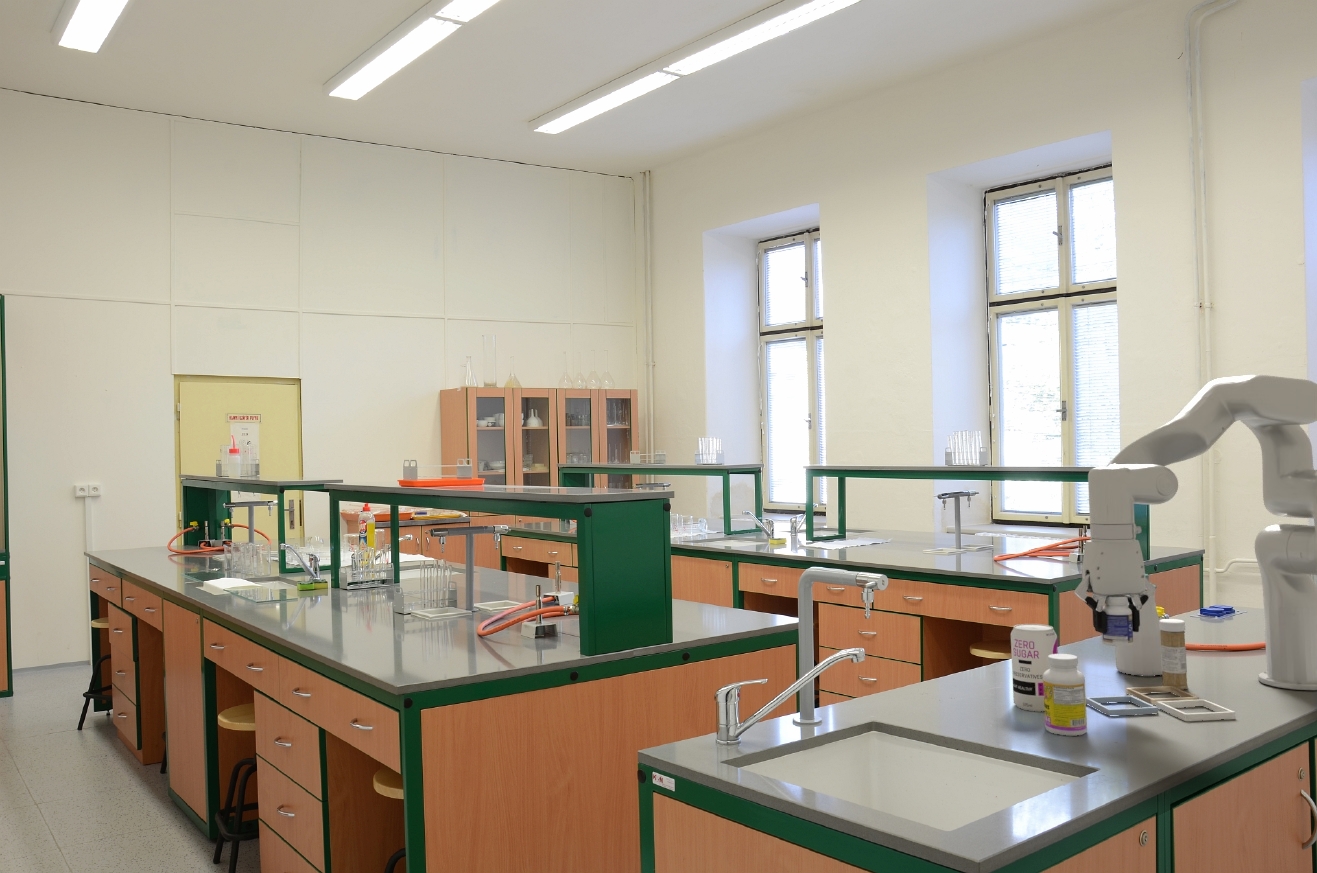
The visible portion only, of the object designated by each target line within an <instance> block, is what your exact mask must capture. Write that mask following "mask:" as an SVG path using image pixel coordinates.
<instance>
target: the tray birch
mask: <svg viewBox="0 0 1317 873" xmlns="http://www.w3.org/2000/svg"><path fill="white" fill-rule="evenodd" d="M1125 689H1126V691H1125V692H1126V694H1127V693H1128V694H1130V695H1133V696H1134V697H1137V698H1139V699H1141V700H1143V701H1145V702H1147V703H1149V704H1152V705H1155V704H1156V702H1157V701H1179V700H1200V697H1199V696H1197V695H1194V694H1192V693H1189V692H1187V691H1185V690H1180V689H1177V688H1175V687H1172V686H1163V685H1161V686H1143V687H1126V688H1125ZM1151 692H1171V693H1170V694H1172V693H1174V694H1176V695H1175V696H1177V695H1179V696H1181V697H1179V696H1178V697H1167V698H1166V697H1163V698H1161V697H1160V698H1158V697H1157V698H1152V697H1150V696H1148V695H1147V694H1141V693H1151ZM1174 694H1173V695H1174ZM1156 705H1157V704H1156Z"/></svg>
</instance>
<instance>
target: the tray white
mask: <svg viewBox="0 0 1317 873" xmlns="http://www.w3.org/2000/svg"><path fill="white" fill-rule="evenodd" d="M1156 704H1157V706H1156V707H1158V708H1160V709H1162V710H1164V711H1166V712H1167V713H1166V712H1165V713H1166V714H1169V713H1170V714H1169V715H1171V716H1173V717H1176V718H1177V717H1178V718H1177V719H1180V720H1182V721H1184V722H1197V721H1198V722H1200V721H1202V720H1203V721H1218V720H1219V721H1220V720H1221V719H1224V720H1236V711H1234V710H1231V709H1229V708H1227V707H1223V706H1222V705H1219V704H1217V703H1214V702H1212V701H1209V700H1206V699H1200V698H1199V700H1179V701H1157V702H1156ZM1195 706H1204V707H1203V708H1205V707H1206V709H1208V708H1209V709H1208V710H1210V711H1212V710H1213V711H1212V712H1193V713H1186V712H1184V711H1182V710H1179V709H1180V708H1181V709H1182V708H1184V707H1186V708H1196V707H1195ZM1160 709H1159V710H1160ZM1162 710H1161V711H1162ZM1164 711H1163V712H1164ZM1221 721H1222V720H1221Z"/></svg>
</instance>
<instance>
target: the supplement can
mask: <svg viewBox="0 0 1317 873" xmlns="http://www.w3.org/2000/svg"><path fill="white" fill-rule="evenodd" d="M1058 644H1059V643H1058V635H1057V633H1056V631H1055V630H1054V627H1053V626H1052V625H1047V624H1043V623H1042V624H1041V623H1023V624H1022V623H1020V624H1019V623H1018V624H1016V625H1013V628H1012V630H1011V632H1010V646H1011V649H1010V650H1011V669H1012V672H1011V674H1012V692H1013V693H1012V694H1013V695H1012V696H1013V704H1014V705H1016V707H1017V708H1018V707H1019V708H1018V709H1020V708H1021V710H1024V711H1027V710H1029V711H1028V712H1034V711H1035V712H1037V713H1044V712H1043V711H1045V710H1044V687H1043V674H1044V673H1045V671H1047V670H1048V669H1050V665H1049V663H1048V656H1049V655H1051V654H1059V652H1058V651H1059V648H1058V647H1059V645H1058ZM1041 711H1042V712H1041ZM1035 712H1034V713H1035Z"/></svg>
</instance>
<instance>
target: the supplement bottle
mask: <svg viewBox="0 0 1317 873" xmlns="http://www.w3.org/2000/svg"><path fill="white" fill-rule="evenodd" d="M1048 663H1049V665H1050V669H1048V670H1047V671H1045V673H1044V674H1043V687H1044V710H1045V712H1044V724H1045V725H1044V726H1045V729H1046V730H1047V732H1049V733H1051V734H1053V733H1054V735H1057V734H1060V735H1059V736H1063V735H1066V736H1065V737H1077V735H1079V736H1082V735H1085V734H1086V733H1087V731H1088V721H1087V720H1088V718H1087V705H1086V698H1087V697H1086V679H1085V675H1084V674H1083V672H1081V671H1080V670H1078V668H1077V667H1078V664H1079V660H1078V656H1077V655H1074V654H1069V653H1058V654H1051V655H1049V656H1048Z"/></svg>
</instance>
